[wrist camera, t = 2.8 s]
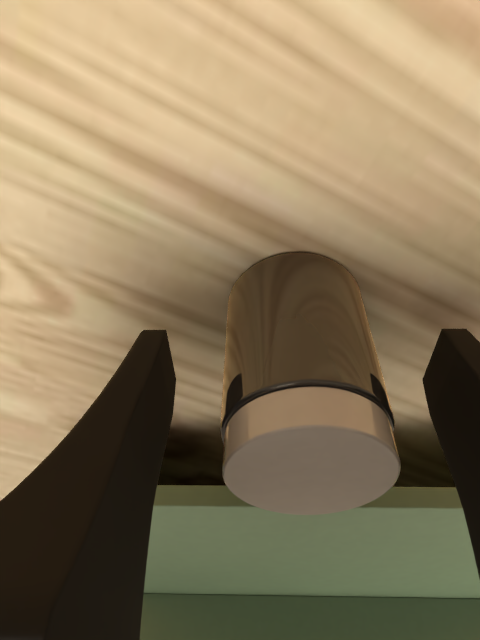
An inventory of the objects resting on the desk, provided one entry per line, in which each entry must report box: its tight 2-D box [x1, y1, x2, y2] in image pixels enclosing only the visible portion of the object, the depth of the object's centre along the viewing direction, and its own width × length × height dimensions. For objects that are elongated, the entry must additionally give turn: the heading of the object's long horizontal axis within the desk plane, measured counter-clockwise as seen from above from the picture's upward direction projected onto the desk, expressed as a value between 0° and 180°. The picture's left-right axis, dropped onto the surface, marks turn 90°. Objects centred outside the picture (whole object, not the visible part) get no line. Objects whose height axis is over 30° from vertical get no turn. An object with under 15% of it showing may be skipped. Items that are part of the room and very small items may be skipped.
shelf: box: [140, 485, 480, 640], centre depth 19 cm, size 18×10×6 cm, turn 92°
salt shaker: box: [220, 252, 401, 515], centre depth 12 cm, size 4×4×6 cm
